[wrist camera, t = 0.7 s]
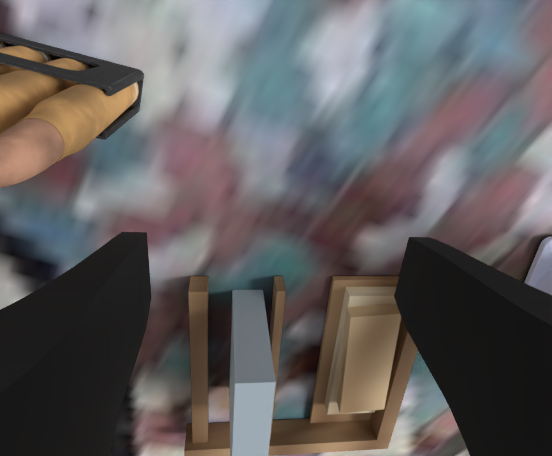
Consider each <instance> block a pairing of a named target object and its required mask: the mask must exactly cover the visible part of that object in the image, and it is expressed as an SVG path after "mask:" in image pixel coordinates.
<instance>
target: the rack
mask: <svg viewBox="0 0 552 456" xmlns="http://www.w3.org/2000/svg"><path fill="white" fill-rule="evenodd" d="M398 279H399V276H332V282H331V288H330V294H329V300H328V306H327V312H326V318H325V325H324V331H323V337H322V343H321V349H320V355H319V361H318V368H317V374H316V380H315V386H314V392H313V398H312V404H311V411H310V417H309V419H287V420H273V413H272V423H271V433H270V443H269V453H268V455H285V454H302V453H319V452H336V451H353V450H370V449H387V448H388V446H389V442H390V439H391V436H392V433H393V429H394V426H395V423H396V420H397V416H398V413H399V410H400V406H401V403H402V400H403V397H404V393H405V390H406V387H407V384H408V380H409V377H410V374H411V370H412V367H413V364H414V361H415V357H416V354H417V351H418V349H417V347H416V345H415V344H414V342H413V340H412V338H411V336H410V334H409V333H408V331H407V329H406V327H405V325H404V322H403V320H402V317H401V321H400V326H399V332H398V337H397V343H396V348H395V354H394V359H393V364H392V370H391V375H390V381H389V386H388V391H387V397H386V402H385V408H384V409H382V410H375V412H372V413H351V414H329V415H327V411H326V408H325V398H326V393H327V387H328V382H329V376H330V371H331V365H332V360H333V354H334V349H335V343H336V338H337V333H338V327H339V322H340V316H341V311H342V305H343V300H344V294H345V289H346V287H396V286H397V283H398ZM188 294H189V330H190V366H191V401H192V424H187V429H186V440H185V456H230V422H224V423H208V276H190V284H189V291H188ZM285 296H286V289H285V285H284V280H283V276H274V284H273V295H272V307H271V319H270V330H269V338H270V345H271V352H272V359H273V366H274V374H275V381H276V383H277V373H278V364H279V354H280V344H281V335H282V325H283V315H284V306H285ZM275 393H276V384H275ZM274 402H275V394H274ZM273 412H274V404H273Z"/></svg>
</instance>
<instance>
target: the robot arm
mask: <svg viewBox="0 0 552 456" xmlns="http://www.w3.org/2000/svg"><path fill="white" fill-rule="evenodd" d="M394 298H395V301H396V304H397V306H398V309H399V312H400V315H401V317H402V320H403V322H404V325H405V327H406V329H407V331H408V333H409V334H410V336H411V338H412V340H413V342H414V344H415V345H416V347H417V349H418V351H419V353H420V354H421V356H422V358H423V360H424V361H425V363H426V365H427V367H428V368H429V370H430V372H431V374H432V376H433V377H434V379H435V381H436V383H437V384H438V386H439V388H440V390H441V391H442V393H443V395H444V397H445V399H446V401H447V403H448V405H449V407H450V409H451V411H452V414H453V416H454V418H455V421H456V423H457V425H458V428H459V430H460V432H461V434H462V437H463V439H464V441H465V444H466V446H467V449H468V451H469V454H470V456H552V236H551V237H547V238H545V239H544V240H543V241H542V242H541V244H540V246H539V249H538V251H537V253H536V256H535V258H534V260H533V263H532V265H531V268H530V270H529V272H528V275H527V277H526V280H525V282H524V283H523V282H521V281H519V280H517V279H515V278H513V277H511V276H508V275H506V274H504V273H502V272H500V271H498V270H496V269H494V268H492V267H490V266H488V265H486V264H484V263H483V262H481V261H479V260H477V259H475V258H473V257H471V256H469V255H467V254H465V253H463V252H461V251H459V250H457V249H455V248H453V247H451V246H449V245H447V244H444V243H442V242H440V241H437V240H435V239H432V238H421V237H409V240H408V243H407V247H406V251H405V255H404V259H403V263H402V267H401V271H400V275H399V279H398V283H397V286H396V290H395V294H394ZM150 302H151V286H150V273H149V259H148V245H147V233H142V232H122V233H120V234H119V235H117V236H116V237H114V238H113V239H111V240H110V241H109V242H107V243H106V244H105V245H103V246H102V247H101V248H99V249H98V250H97V251H95V252H94V253H93V254H91V255H90V256H88V257H87V258H86V259H84V260H83V261H81V262H80V263H79V264H77V265H76V266H74V267H73V268H71V269H70V270H68V271H67V272H65V273H64V274H62V275H61V276H59V277H57V278H56V279H54V280H53V281H51V282H50V283H48V284H47V285H45V286H43V287H42V288H40V289H38V290H37V291H35V292H33V293H31V294H30V295H28V296H26V297H24V298H22V299H21V300H19V301H17V302H15V303H13V304H11V305H9V306H7V307H5V308H3V309H1V310H0V456H110V452H111V447H112V443H113V438H114V433H115V428H116V424H117V420H118V416H119V412H120V409H121V405H122V402H123V399H124V396H125V393H126V389H127V386H128V383H129V380H130V377H131V374H132V371H133V368H134V365H135V362H136V358H137V355H138V352H139V349H140V346H141V343H142V339H143V336H144V333H145V330H146V325H147V319H148V314H149V308H150Z"/></svg>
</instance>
